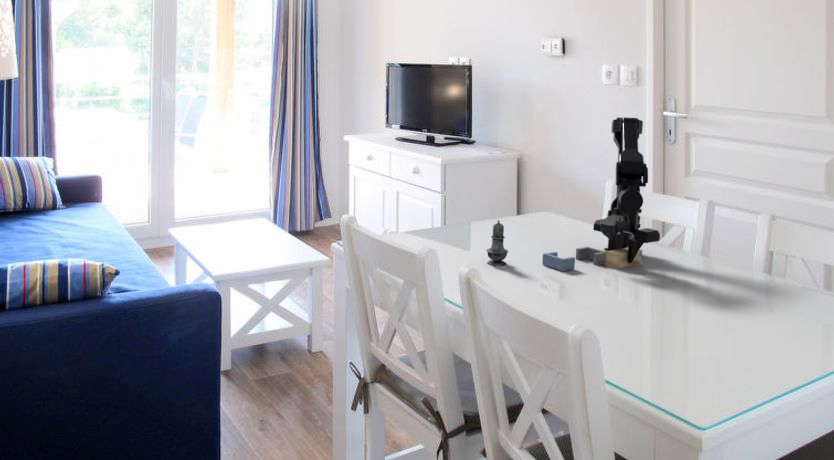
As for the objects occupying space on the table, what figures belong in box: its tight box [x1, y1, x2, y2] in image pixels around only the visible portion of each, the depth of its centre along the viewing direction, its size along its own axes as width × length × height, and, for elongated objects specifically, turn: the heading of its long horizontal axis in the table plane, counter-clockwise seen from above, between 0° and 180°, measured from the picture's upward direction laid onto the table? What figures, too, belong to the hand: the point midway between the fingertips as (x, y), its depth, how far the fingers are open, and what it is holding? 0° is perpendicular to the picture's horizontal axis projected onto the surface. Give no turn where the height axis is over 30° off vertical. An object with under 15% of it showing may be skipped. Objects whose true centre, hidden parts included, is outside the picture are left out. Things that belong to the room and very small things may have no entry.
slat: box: [604, 248, 643, 270], centre depth 240 cm, size 10×4×4 cm, turn 126°
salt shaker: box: [486, 220, 509, 267], centre depth 238 cm, size 6×6×12 cm
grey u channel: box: [575, 246, 606, 266], centre depth 244 cm, size 4×8×3 cm, turn 36°
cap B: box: [541, 251, 576, 271], centre depth 236 cm, size 4×8×3 cm, turn 36°
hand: (623, 261), depth 241 cm, fingers closed on slat, 4 cm apart
